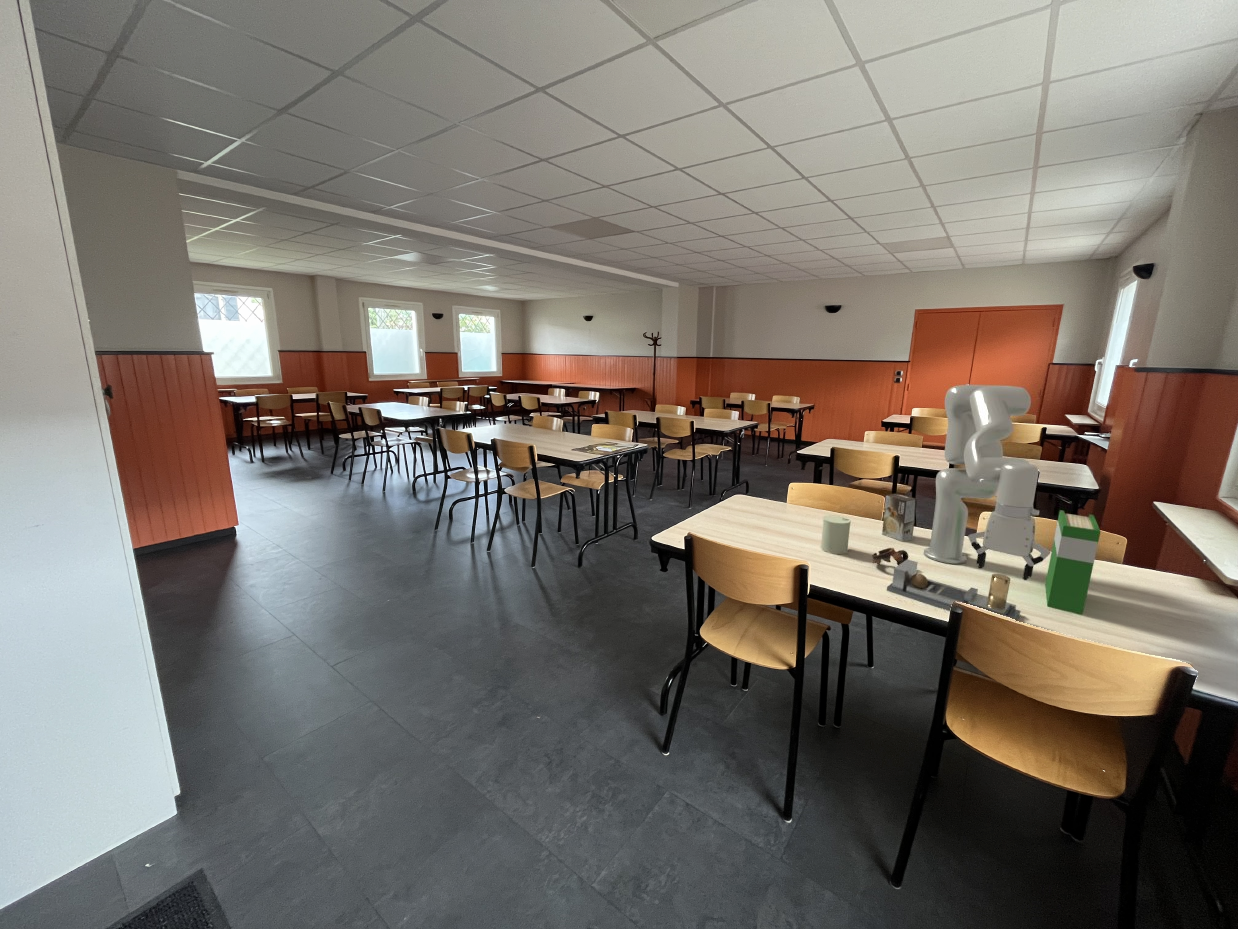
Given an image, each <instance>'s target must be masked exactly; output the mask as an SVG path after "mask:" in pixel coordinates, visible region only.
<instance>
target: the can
mask: <svg viewBox="0 0 1238 929" xmlns="http://www.w3.org/2000/svg"><path fill="white" fill-rule="evenodd" d="M851 522H852V521H851V519H850V518H849V517H845V516H841V515H836V514H835V515H833V514H831V515H830V514H829V515H824V516H823V520H822V532H821V543H820V550H822V551H823V552H825V553H828V554H834V555H845V554H847V553H848V552H849V548H848V547H849V541H850V540H849V538H850V529H851Z"/></svg>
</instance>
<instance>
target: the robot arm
mask: <svg viewBox="0 0 1238 929" xmlns="http://www.w3.org/2000/svg"><path fill="white" fill-rule="evenodd" d="M1031 402H1032V399H1031V395H1030V394H1029V392H1028V391H1027V390H1026V389H1025V388H1024V387H1021V386H1014V385H1013V386H1011V385H998V384H997V385H987V384H986V385H984V384H962V385H960V384H959V385H954V386H952V387H950V388H949V389H948V390H947V392H946V394H945V397H944V410H945V413H946V418H947V430H946V435H945V436H946V437H945V447H944V459H945V461H946V462H947V463H949V464H951V465H958V466H965V467H964V468H957V467H956V468H955V467H954V468H951V467H950V468H945V469H941V470H940V471H939V472H937V474H936V477H935V492H936V493H935V494H936V495H935V507H934V514H933V520H932V521H933V522H932V529H931V536H930V541H929V542H930V544H929V546H928V547H925V549H924V550H923V555H925V556H926V557H927V558H928V559H931V560H934V561H935V562H940V563H946V564H955V565H957V564H958V565H959V564H964V563H966V562H967V556H966V555H965V554H964V553H963V547H964V542H965V536H966V530H967V529H966V528H967V523H968V516H969V510H968V509H969V508H968V507H967V505H966V504H965V503H964V502H963V500H962V498H972V499H991V498H994V497H995V496H996V500H995V505H994V510H992V511H991V513H990V514H989V518H988V520H987V523H986V526H985V531H980V532H979V531H978V532H975V533H974V532H973V533H970V534H968V535H967V537H968V540H969V542H970V544H971V545H970V546H971V547H972V549H974V550H975V553H976V554H977V557H976V565H978V566H977V568H978V569H980V570H981V569H983V568H984V567H985V564H986V557H987V553H986V552H987V550H989V551H993V552H997V553H998V552H999V553H1003V554H1007V555H1011V556H1015V557H1016V556H1017V557H1020V558H1023V560H1024V561H1025V565H1024V569H1023V574H1022V580H1024V581H1027V580H1028V579H1029V578H1032V576H1033V572H1034V571H1033V570H1034V566H1035V565H1038V564H1039V563H1040V564H1041V563H1042V562H1043V561H1044V560H1045V559H1046V558H1047V557H1048V556H1050V555H1051V551H1050V550H1049V549H1047V548H1046V547H1044V546H1042V545H1041V544H1040V543H1038V542H1036V541H1035V537H1036V536H1035V535H1036V519H1035V518H1034V516H1037V517H1038V516H1039V515H1040V510H1039V509H1038V510H1037V509H1036V508H1034V502H1035V496H1036V495H1035V494H1036V488H1037V484H1038V483H1037V482H1038V478H1039V469H1038V467H1037V466H1036V465H1034V464H1030V463H1029V461H1027V460H1026V459H1024V458H1020V457H1019V458H1018V457H1017V458H1016V457H1004V450H1003V445H1002V443H1001V442H1000V441H1002V440H1004V439H1006V438H1008V437H1009V436H1010V435H1011V434H1013V431H1014V425H1013V424H1014V423H1013V421H1012V418H1011V416H1012V417H1013V416H1014V417H1017V416H1018V417H1020V416H1024V415H1025V414H1028V411H1029V410H1030V407H1031ZM979 538H983V540H982V546H981V545H980V543H979V542H978V540H977V539H979ZM1034 549H1035V550H1036V551H1038V552H1039V553H1040V555H1038V556H1036V557H1034V556H1033V555H1032V553H1033V551H1034Z"/></svg>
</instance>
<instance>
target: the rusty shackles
mask: <svg viewBox="0 0 1238 929" xmlns="http://www.w3.org/2000/svg"><path fill="white" fill-rule="evenodd" d="M871 557H872V561H871V562H872V563H873V564H877V565H881V562H882V561H883V562H886V563H892V561H891V557H892V558H893V560H895V561H896V564H897V566H898V565H900V564H901V563H903V562H904V561H905V560H907V559H908V560H909V553H908V551H906V550H904V549H901V550H898V551H896V550H895V548H894V547H888V548H884V549H881V550H879V551H878V552H874V553H872V554H871Z"/></svg>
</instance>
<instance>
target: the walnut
mask: <svg viewBox="0 0 1238 929" xmlns="http://www.w3.org/2000/svg"><path fill="white" fill-rule="evenodd" d="M927 579H928V578H927V577H926V576H925V575H924V574H921V573H916V574H914V575H913V576H912V577H911V584H912V585H913V586H914V587H915V588H919V589H923V588H925V587H926V586H927V584H928V580H927Z"/></svg>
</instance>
